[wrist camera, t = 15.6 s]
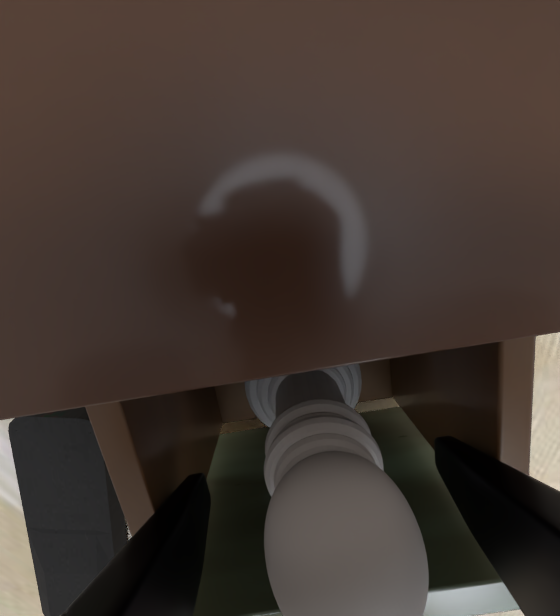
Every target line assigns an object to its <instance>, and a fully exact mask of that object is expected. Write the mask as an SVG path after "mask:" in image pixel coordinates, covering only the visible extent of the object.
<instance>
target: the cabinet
mask: <svg viewBox="0 0 560 616" xmlns="http://www.w3.org/2000/svg"><path fill="white" fill-rule="evenodd" d="M557 332H560V0H0V420H4V419H10V418H17V417H23V416H29V415H36V414H42V413H49V412H55V411H61V410H68V409H74V408H80V407H87V406H93V405H99V404H106V403H112V402H118V401H125V400H131V399H137V398H144V397H150V396H157V395H163V394H169V393H176V392H182V391H188V390H195V389H201V388H207V387H214V386H220V385H226V384H233V383H239V382H245V381H252V380H258V379H265V378H271V377H277V376H284V375H290V374H296V373H303V372H309V371H315V370H322V369H328V368H334V367H341V366H347V365H354V364H360V363H366V362H373V361H379V360H385V359H392V358H398V357H404V356H411V355H417V354H423V353H430V352H436V351H442V350H449V349H455V348H462V347H468V346H474V345H481V344H487V343H493V342H500V341H506V340H512V339H519V338H525V337H531V336H538V335H544V334H550V333H557Z"/></svg>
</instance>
